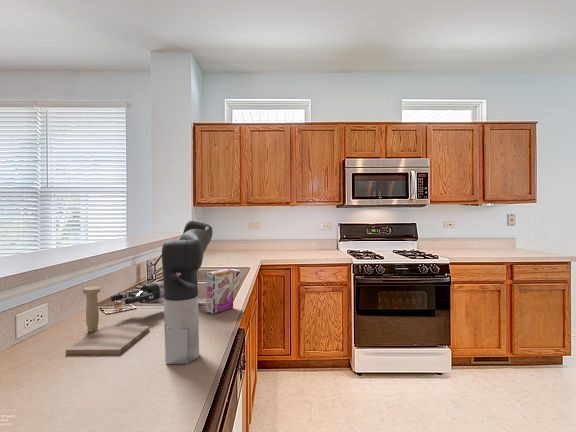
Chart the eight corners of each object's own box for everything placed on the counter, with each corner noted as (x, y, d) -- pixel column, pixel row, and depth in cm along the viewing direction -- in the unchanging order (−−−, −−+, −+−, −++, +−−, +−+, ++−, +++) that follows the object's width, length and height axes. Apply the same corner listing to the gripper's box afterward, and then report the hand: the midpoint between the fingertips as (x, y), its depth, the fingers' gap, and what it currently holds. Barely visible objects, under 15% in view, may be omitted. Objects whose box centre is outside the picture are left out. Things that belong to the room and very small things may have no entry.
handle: (95, 327, 125) (94, 285, 125) (104, 330, 121) (103, 287, 121) (81, 331, 121) (80, 288, 121) (89, 334, 117) (88, 290, 117)
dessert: (98, 310, 149) (98, 299, 149) (127, 304, 157) (127, 294, 157) (106, 316, 140) (106, 304, 140) (137, 310, 148) (136, 299, 148)
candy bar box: (214, 314, 138) (213, 273, 138) (205, 312, 141) (205, 272, 141) (234, 308, 147) (233, 269, 147) (226, 306, 150) (225, 268, 150)
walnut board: (119, 354, 101) (119, 349, 101) (65, 354, 101) (65, 349, 101) (149, 330, 121) (149, 326, 121) (103, 330, 121) (103, 326, 121)
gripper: (144, 280, 147) (106, 288, 133) (166, 284, 139) (129, 292, 125) (144, 298, 147) (107, 308, 133) (166, 302, 139) (130, 313, 126)
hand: (118, 300), depth 129 cm, fingers open, 8 cm apart
